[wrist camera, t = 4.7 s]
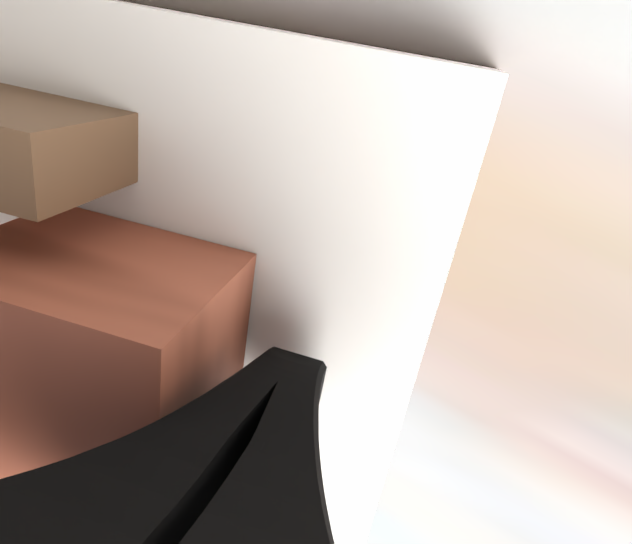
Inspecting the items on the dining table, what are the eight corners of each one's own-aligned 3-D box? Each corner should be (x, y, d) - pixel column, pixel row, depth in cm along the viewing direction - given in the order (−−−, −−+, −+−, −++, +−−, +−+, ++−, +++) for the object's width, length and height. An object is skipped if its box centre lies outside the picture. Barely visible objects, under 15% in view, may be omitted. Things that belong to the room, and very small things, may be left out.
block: (236, 425, 13) (154, 562, 10) (70, 371, 14) (-60, 479, 11) (256, 253, 11) (161, 350, 8) (58, 202, 12) (-112, 267, 8)
